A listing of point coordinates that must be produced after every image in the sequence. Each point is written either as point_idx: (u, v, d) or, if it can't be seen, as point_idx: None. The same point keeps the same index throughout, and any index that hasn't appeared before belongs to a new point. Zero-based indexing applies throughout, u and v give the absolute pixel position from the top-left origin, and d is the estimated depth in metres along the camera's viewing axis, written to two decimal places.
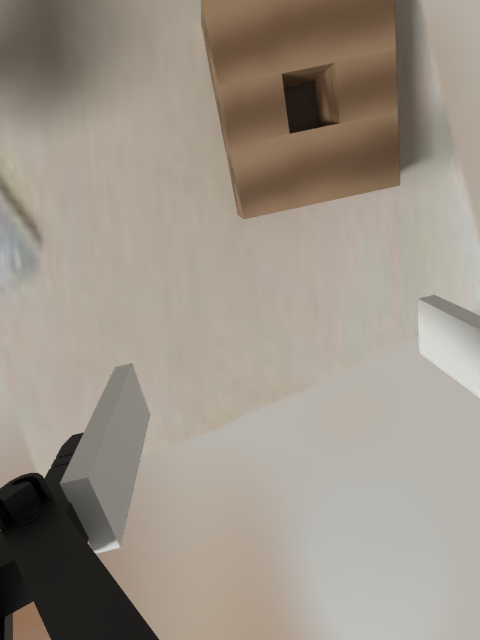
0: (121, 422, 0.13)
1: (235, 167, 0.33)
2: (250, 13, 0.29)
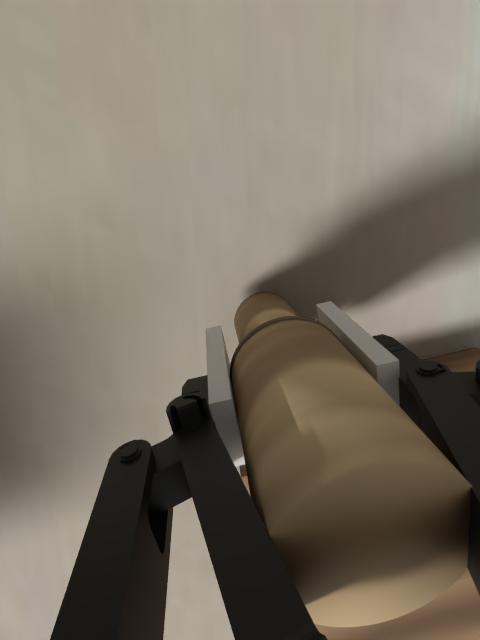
0: (228, 369, 0.15)
1: None
2: None
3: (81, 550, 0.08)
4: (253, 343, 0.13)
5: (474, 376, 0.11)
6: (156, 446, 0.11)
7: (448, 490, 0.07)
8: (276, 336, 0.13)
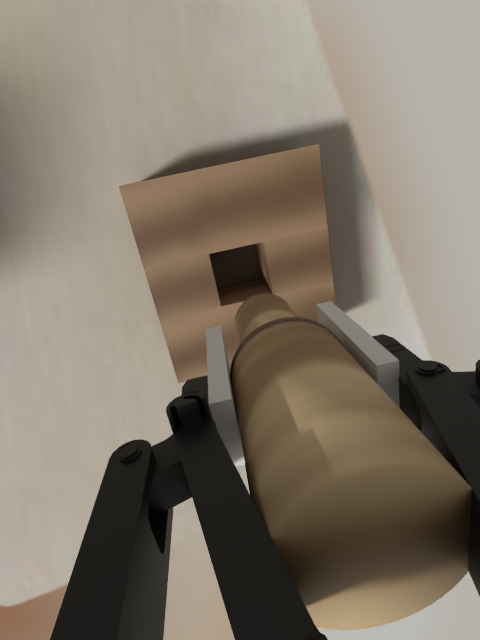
0: (228, 369, 0.15)
1: (166, 338, 0.32)
2: (172, 201, 0.28)
3: (80, 550, 0.08)
4: (253, 344, 0.13)
5: (474, 376, 0.11)
6: (156, 446, 0.11)
7: (449, 493, 0.07)
8: (276, 337, 0.13)
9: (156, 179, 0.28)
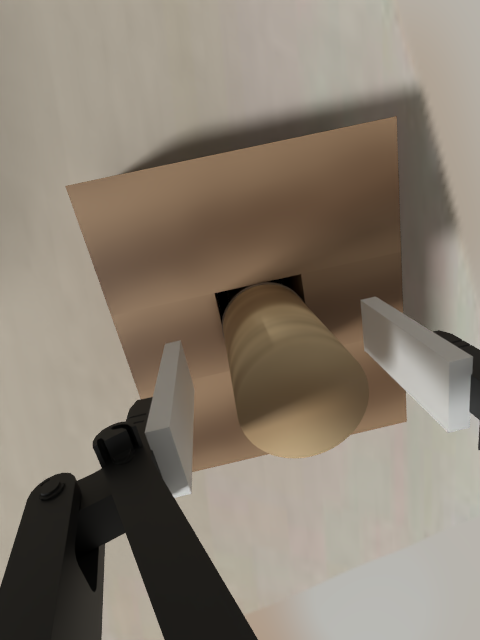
0: (180, 389, 0.14)
1: None
2: (155, 212, 0.17)
3: None
4: (238, 299, 0.18)
5: None
6: (86, 479, 0.10)
7: (343, 362, 0.12)
8: (254, 294, 0.18)
9: (128, 175, 0.17)
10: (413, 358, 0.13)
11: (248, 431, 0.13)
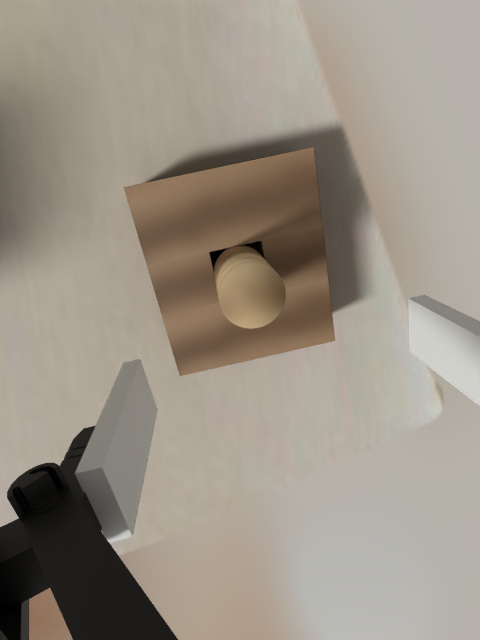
0: (131, 416, 0.13)
1: (168, 332, 0.34)
2: (174, 202, 0.30)
3: None
4: (223, 255, 0.31)
5: None
6: (6, 527, 0.09)
7: (271, 274, 0.25)
8: (232, 250, 0.30)
9: (159, 181, 0.29)
10: None
11: (224, 311, 0.25)
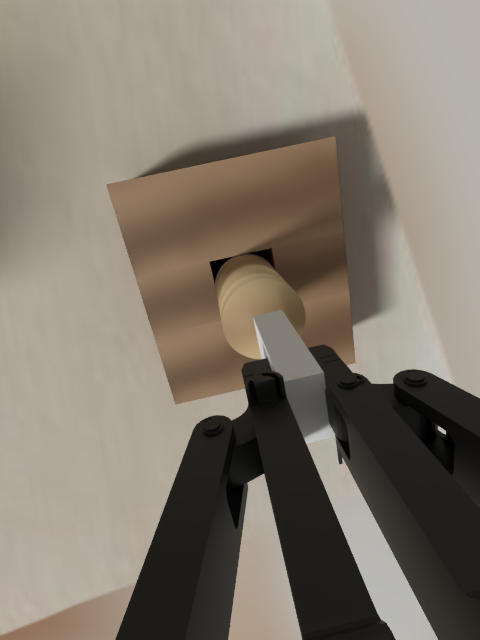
0: None
1: (161, 355, 0.29)
2: (168, 202, 0.25)
3: (164, 510, 0.08)
4: (226, 265, 0.26)
5: (393, 391, 0.11)
6: (231, 422, 0.11)
7: (287, 294, 0.20)
8: (237, 260, 0.25)
9: (149, 177, 0.24)
10: None
11: (229, 339, 0.20)
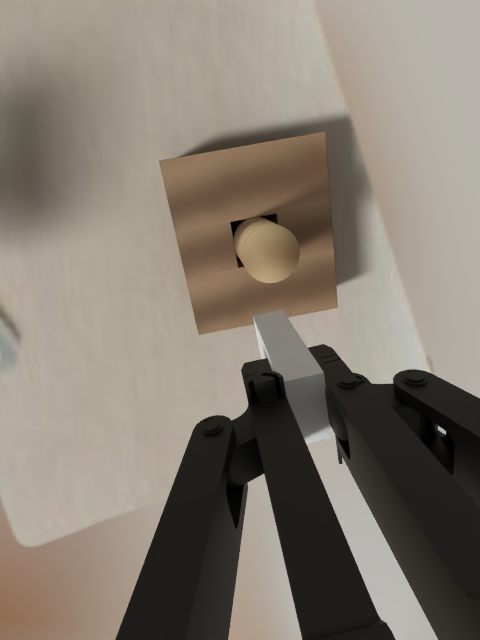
0: None
1: (190, 294, 0.38)
2: (202, 176, 0.34)
3: (164, 510, 0.08)
4: (242, 224, 0.35)
5: (393, 391, 0.11)
6: (231, 422, 0.11)
7: (288, 235, 0.29)
8: (251, 220, 0.35)
9: (190, 156, 0.33)
10: None
11: (247, 266, 0.30)
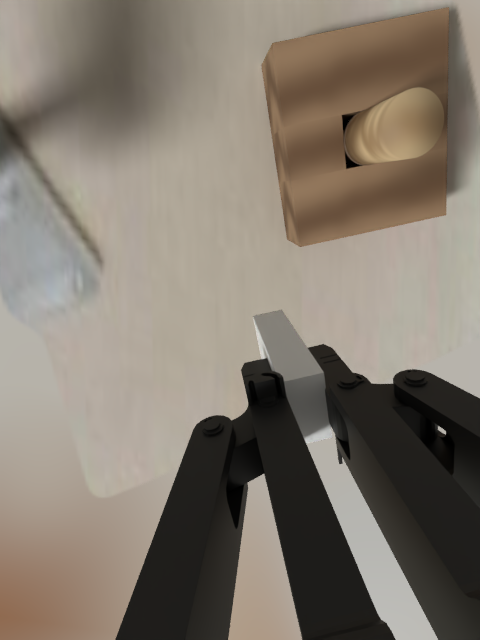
0: None
1: (294, 200, 0.36)
2: (316, 61, 0.32)
3: (164, 510, 0.08)
4: (357, 115, 0.33)
5: (393, 391, 0.11)
6: (231, 422, 0.11)
7: (433, 100, 0.27)
8: None
9: (305, 37, 0.31)
10: None
11: (387, 138, 0.27)
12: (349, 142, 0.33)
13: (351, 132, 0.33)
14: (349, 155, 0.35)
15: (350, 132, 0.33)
